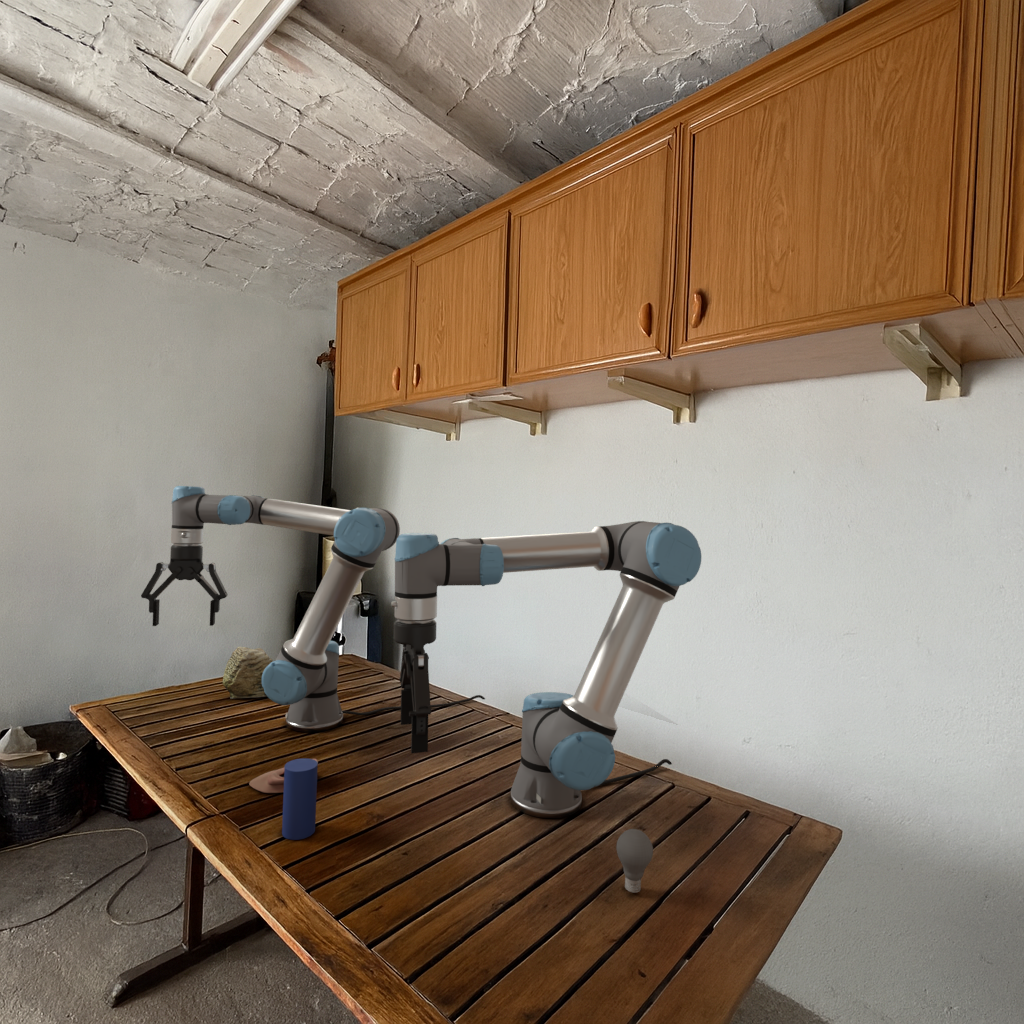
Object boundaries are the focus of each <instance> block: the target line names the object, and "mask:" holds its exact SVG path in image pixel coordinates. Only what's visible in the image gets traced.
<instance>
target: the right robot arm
mask: <svg viewBox="0 0 1024 1024" xmlns="http://www.w3.org/2000/svg"><path fill="white" fill-rule="evenodd" d="M438 537H439V536H438V535H437V534H435V533H430V532H429V533H427V532H424V533H423V532H407V533H401V534H399V536H398V538H397V540H396V542H395V556H394V600H395V601H391V603H390V606H391V607H392V608H394V618H395V619H396V620H395V621H394V622H393V641H394V642H395V643H397V644H399V645H402V651H401V652H402V653H401V663H400V672H399V673H400V674H399V679H398V680H399V683H400V687H401V690H400V706H401V709H400V725H401V726H405V725H406V726H407V725H411V729H410V730H411V732H410V733H411V735H410V736H411V737H410V739H411V741H410V742H411V743H410V752H411V754H418V753H419V754H421V753H428V752H429V716H430V715H431V714H432V708H431V705H432V704H431V691H430V690H431V688H430V673H429V659H430V657H429V655H428V652H426V650H425V646H426V645H428V644H429V645H430V644H432V643H434V642H435V641H436V640H437V621H436V620H435V619H436V618H437V617H438V587H448V586H452V587H453V586H481V587H485V586H492V585H498V584H499V583H500V582H501V581H502V579H503V575H504V574H505V573H506V574H507V573H508V574H509V573H521V572H533V571H534V572H535V571H549V570H564V569H578V568H589V567H590V568H592V567H593V568H594V569H595V570H596V571H599V572H600V571H602V572H603V571H615V572H620V573H619V578H620V581H621V583H622V586H621V589H620V591H619V593H618V596H617V598H616V600H615V602H614V605H613V607H612V609H611V612H610V614H609V616H608V617H607V621H606V623H605V624H604V627H603V630H602V632H601V634H600V636H599V639H598V641H597V643H596V645H595V648H594V650H593V652H592V654H591V657H590V659H589V661H588V663H587V665H586V668H585V670H584V672H583V673H582V674H583V675H582V677H581V679H580V681H579V683H578V685H577V688H576V691H575V692H574V694H571V693H566V692H557V691H556V692H555V691H542V692H541V691H540V692H535V693H530V694H528V695H526V696H525V697H524V699H523V706H522V709H521V713H522V715H521V716H522V718H521V719H522V720H521V721H522V722H521V741H520V742H521V746H520V747H521V748H520V763H519V766H518V769H517V772H516V774H515V776H514V780H513V783H512V786H511V789H510V802H511V804H512V806H513V807H514V808H515V809H517V810H518V811H519V812H521V813H522V814H523V813H524V814H526V815H528V816H533V817H535V818H536V817H537V818H541V819H542V818H543V819H560V818H565V817H570V816H572V815H574V814H575V813H578V811H580V809H581V807H582V803H583V802H582V800H583V796H582V795H583V794H582V791H589V790H591V789H593V788H595V787H599V786H604V785H608V784H609V785H610V784H612V783H616V782H620V781H624V780H628V779H632V778H635V777H639V776H642V775H646V774H649V773H651V772H654V771H656V770H658V768H660V767H661V766H662V765H664V764H668V766H669V765H673V763H672V761H671V760H670V759H668V758H663V759H661V760H660V761H659V762H658V763H656V764H655V765H654V766H652V767H649V768H646V769H643V770H638V771H635V772H632V773H628V774H624V775H620V776H616V777H612V778H609V777H610V775H611V774H612V773H613V772H612V771H613V769H614V767H615V763H616V753H615V749H614V745H613V743H612V742H613V741H614V738H615V736H616V734H617V731H618V724H617V722H616V719H615V716H616V713H617V711H618V708H619V706H620V704H621V702H622V699H623V697H624V695H625V693H626V690H627V688H628V686H629V683H630V681H631V678H632V676H633V674H634V672H635V670H636V667H637V666H638V662H639V660H640V658H641V657H642V653H643V651H644V649H645V648H646V647H645V646H646V644H647V642H648V639H649V638H650V635H651V633H652V630H653V628H654V626H655V624H656V621H657V619H658V617H659V615H660V612H661V610H662V608H663V606H664V604H665V603H668V602H670V601H673V600H675V598H676V595H677V593H678V591H679V588H680V587H681V586H684V585H686V584H687V583H690V582H691V581H693V580H694V579H695V578H696V576H697V575H698V573H699V571H700V569H701V565H702V549H701V547H700V544H699V541H698V539H697V538H696V536H695V535H694V534H693V532H691V531H690V530H689V529H688V528H687V527H684V526H682V525H678V524H674V523H672V522H654V521H646V520H637V521H629V522H625V523H617V524H611V525H602V526H601V525H600V526H594V527H593V528H592V529H591V531H577V532H561V533H543V534H542V533H541V534H528V535H511V536H510V535H509V536H491V537H489V536H488V537H480V538H479V537H477V538H475V537H474V538H459V537H451V538H447V539H445V540H443V541H441V542H440V541H439V538H438ZM420 706H424V707H423V708H419V707H420ZM655 766H656V767H655ZM657 766H658V767H657ZM608 778H609V779H608Z"/></svg>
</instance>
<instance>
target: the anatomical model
mask: <svg viewBox="0 0 1024 1024" xmlns="http://www.w3.org/2000/svg"><path fill="white" fill-rule="evenodd" d="M312 759H313V760H315V761H317V763H318V764H319V761H318V759H317V758H312ZM284 768H285V766H284V767H281V768H279V769H274V770H271V771H268V772H265V773H263V774H260V775H258V776H256V777H254V778H252V779H251V780H250V781H249V783H248V784H249V785H248V786H250V787H251V788H253V789H254V790H256V791H258V792H261V793H264V794H279V793H284Z"/></svg>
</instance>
